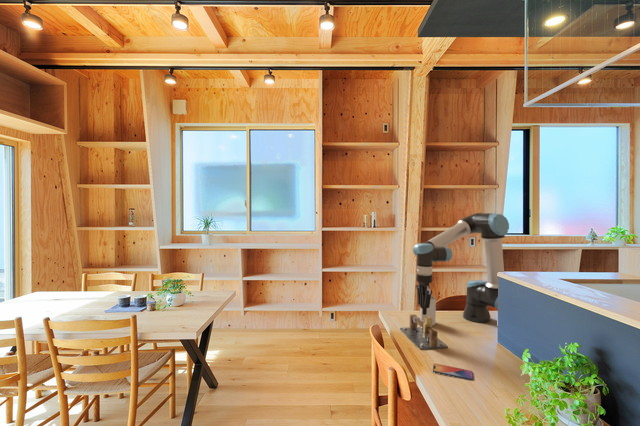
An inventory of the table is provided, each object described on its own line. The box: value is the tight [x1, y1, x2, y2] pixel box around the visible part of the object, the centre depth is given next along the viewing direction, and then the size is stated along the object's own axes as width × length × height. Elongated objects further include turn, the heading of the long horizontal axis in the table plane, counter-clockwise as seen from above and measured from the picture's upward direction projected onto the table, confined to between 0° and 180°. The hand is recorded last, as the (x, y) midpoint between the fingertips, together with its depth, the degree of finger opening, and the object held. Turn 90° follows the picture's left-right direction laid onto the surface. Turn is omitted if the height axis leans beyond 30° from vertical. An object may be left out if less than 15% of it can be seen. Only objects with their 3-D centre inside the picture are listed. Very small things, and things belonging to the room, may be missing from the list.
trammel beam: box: [409, 314, 438, 347], centre depth 168 cm, size 3×25×7 cm, turn 8°
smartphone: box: [432, 363, 474, 381], centre depth 134 cm, size 7×15×1 cm, turn 68°
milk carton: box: [423, 294, 437, 326], centre depth 191 cm, size 7×7×19 cm
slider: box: [423, 317, 433, 341], centre depth 162 cm, size 4×2×11 cm, turn 98°
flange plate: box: [399, 326, 449, 350], centre depth 169 cm, size 14×25×2 cm, turn 8°
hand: (423, 320), depth 168 cm, fingers closed
